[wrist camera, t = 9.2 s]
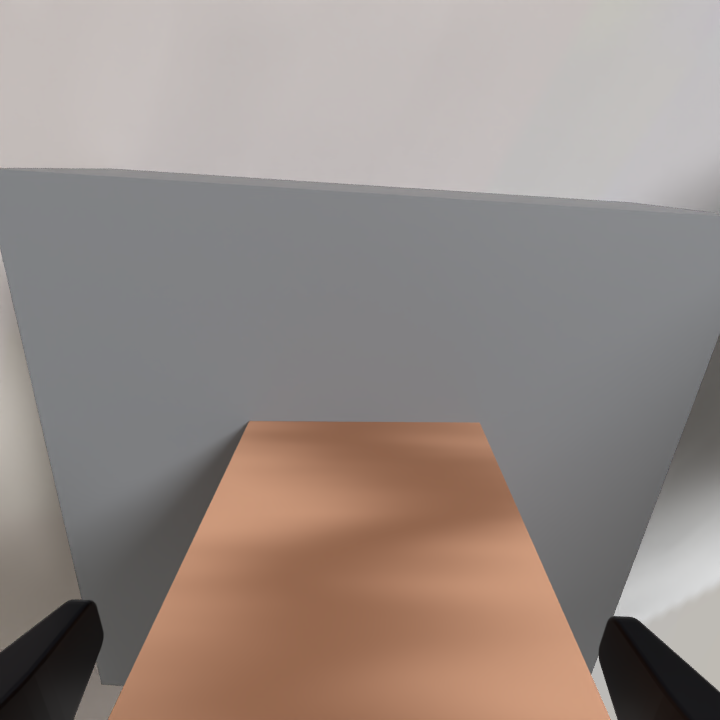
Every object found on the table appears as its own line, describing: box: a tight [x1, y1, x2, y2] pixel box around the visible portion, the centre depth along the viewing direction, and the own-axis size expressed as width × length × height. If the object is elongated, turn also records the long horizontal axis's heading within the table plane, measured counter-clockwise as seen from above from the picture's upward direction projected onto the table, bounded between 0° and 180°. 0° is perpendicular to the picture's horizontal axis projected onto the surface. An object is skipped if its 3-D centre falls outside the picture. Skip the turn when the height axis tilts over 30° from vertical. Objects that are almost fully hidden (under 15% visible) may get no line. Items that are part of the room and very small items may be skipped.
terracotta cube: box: [108, 421, 611, 720], centre depth 8 cm, size 5×5×6 cm
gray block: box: [0, 168, 720, 686], centre depth 13 cm, size 14×14×5 cm
